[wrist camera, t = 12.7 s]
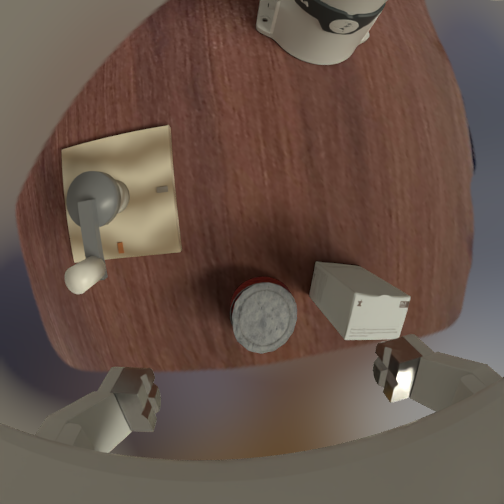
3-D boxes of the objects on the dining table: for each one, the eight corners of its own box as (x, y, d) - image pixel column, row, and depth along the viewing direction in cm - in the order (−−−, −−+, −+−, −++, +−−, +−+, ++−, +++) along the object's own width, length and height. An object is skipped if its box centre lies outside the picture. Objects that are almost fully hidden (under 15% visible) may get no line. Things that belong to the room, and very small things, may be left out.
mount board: (66, 150, 37) (42, 146, 30) (170, 127, 38) (158, 116, 31) (78, 260, 41) (56, 272, 34) (182, 249, 42) (172, 262, 35)
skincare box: (307, 295, 45) (338, 343, 30) (315, 258, 43) (352, 292, 29) (355, 299, 45) (399, 342, 31) (363, 264, 44) (413, 297, 30)
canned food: (233, 280, 48) (224, 268, 39) (293, 281, 48) (301, 269, 38) (231, 349, 45) (222, 354, 36) (293, 349, 45) (301, 355, 35)
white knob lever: (118, 167, 32) (87, 163, 24) (131, 270, 35) (106, 293, 27) (72, 176, 31) (36, 176, 23) (86, 273, 34) (54, 295, 26)
